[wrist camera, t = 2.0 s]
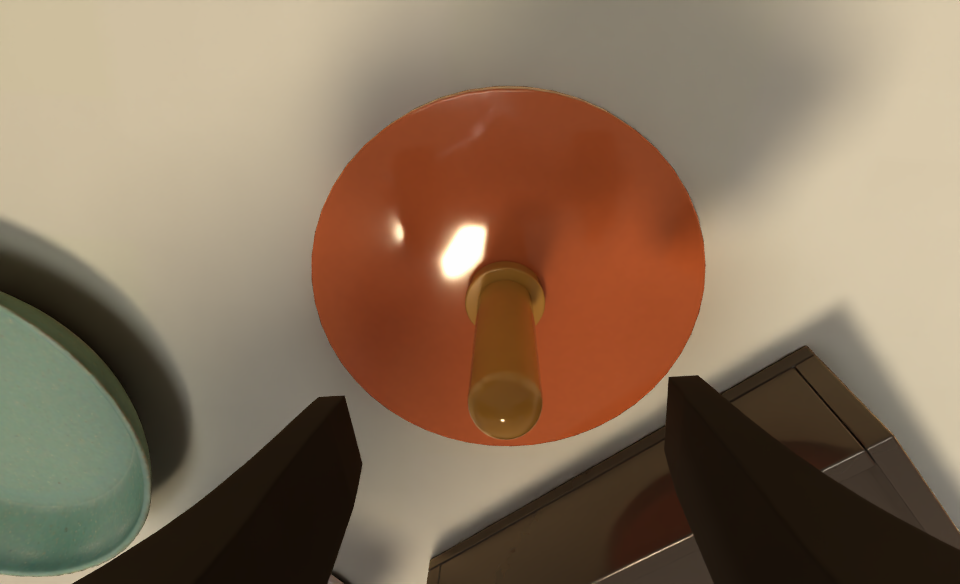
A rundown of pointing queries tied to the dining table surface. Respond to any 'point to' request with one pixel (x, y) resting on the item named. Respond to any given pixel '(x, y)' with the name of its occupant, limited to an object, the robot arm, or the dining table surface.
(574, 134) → the orange round pegged disc
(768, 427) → the tray
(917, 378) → the dining table surface
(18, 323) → the saucer
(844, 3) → the dining table surface
